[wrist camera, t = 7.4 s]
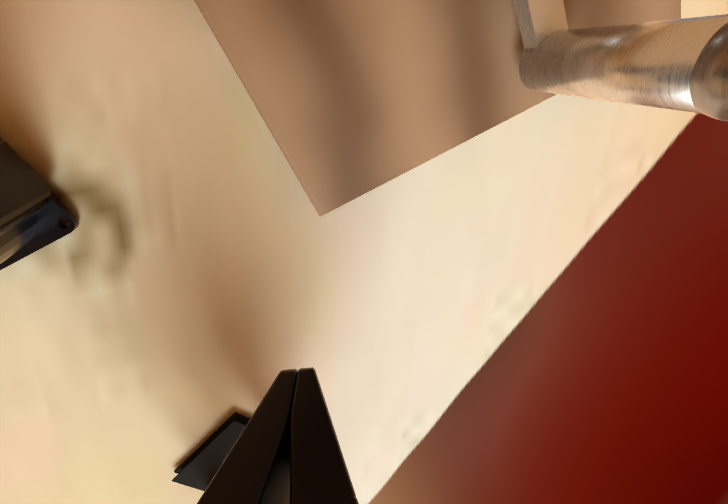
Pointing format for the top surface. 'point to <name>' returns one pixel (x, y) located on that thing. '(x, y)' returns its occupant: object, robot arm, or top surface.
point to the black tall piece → (211, 454)
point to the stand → (386, 77)
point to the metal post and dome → (627, 59)
